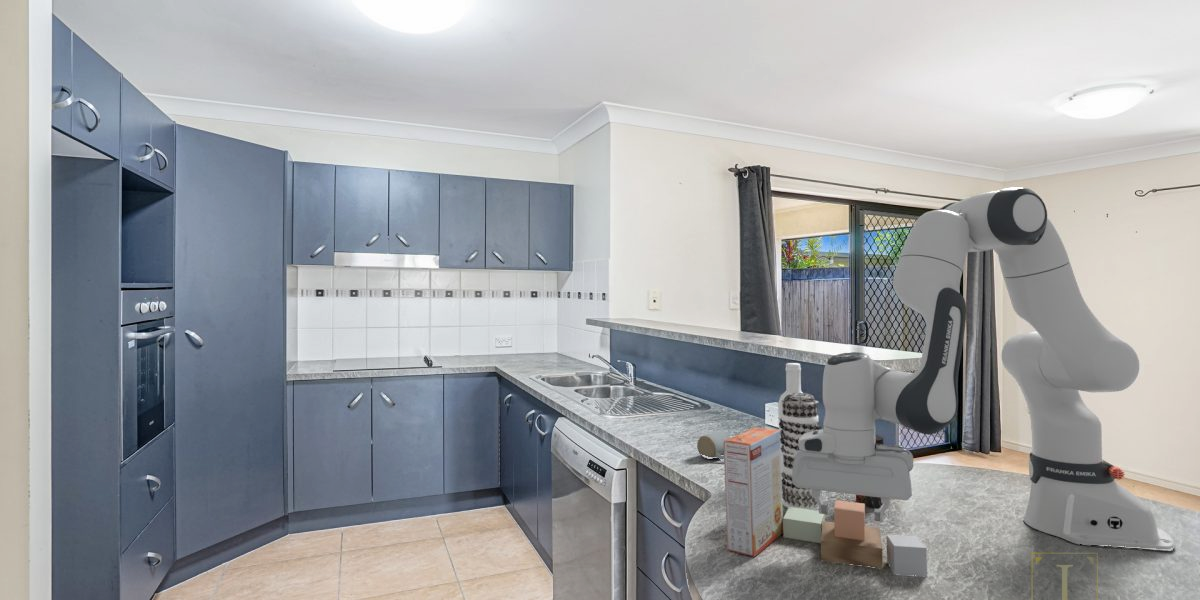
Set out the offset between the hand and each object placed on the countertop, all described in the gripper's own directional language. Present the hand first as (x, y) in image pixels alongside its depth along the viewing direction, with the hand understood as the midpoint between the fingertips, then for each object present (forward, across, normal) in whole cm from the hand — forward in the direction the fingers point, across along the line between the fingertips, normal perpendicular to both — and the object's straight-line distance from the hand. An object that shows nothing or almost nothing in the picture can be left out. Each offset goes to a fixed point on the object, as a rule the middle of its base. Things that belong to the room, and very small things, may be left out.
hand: (850, 516), depth 109 cm
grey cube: (+7, -9, +3) cm, 12 cm away
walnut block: (+7, 0, 0) cm, 7 cm away
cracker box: (+7, +17, +2) cm, 19 cm away
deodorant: (+7, -2, -30) cm, 31 cm away
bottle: (+7, +16, -41) cm, 45 cm away
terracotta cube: (+3, 0, 0) cm, 3 cm away
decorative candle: (+7, +12, -23) cm, 27 cm away
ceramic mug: (+7, +40, -54) cm, 67 cm away
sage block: (+7, +9, -6) cm, 13 cm away
